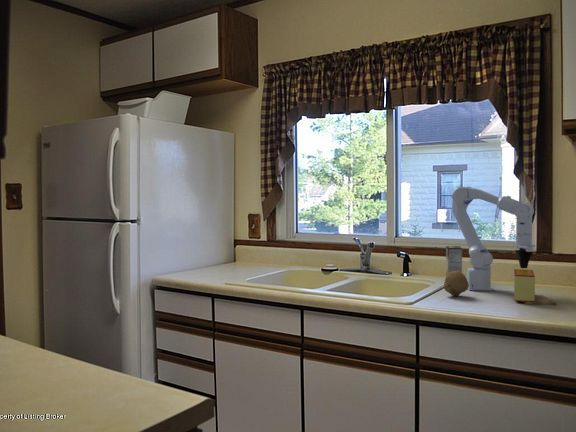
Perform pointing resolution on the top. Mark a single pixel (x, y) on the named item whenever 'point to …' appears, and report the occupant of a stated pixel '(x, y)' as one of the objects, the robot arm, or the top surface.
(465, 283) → the natural sponge
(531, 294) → the baking soda box
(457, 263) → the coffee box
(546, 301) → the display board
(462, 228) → the robot arm
